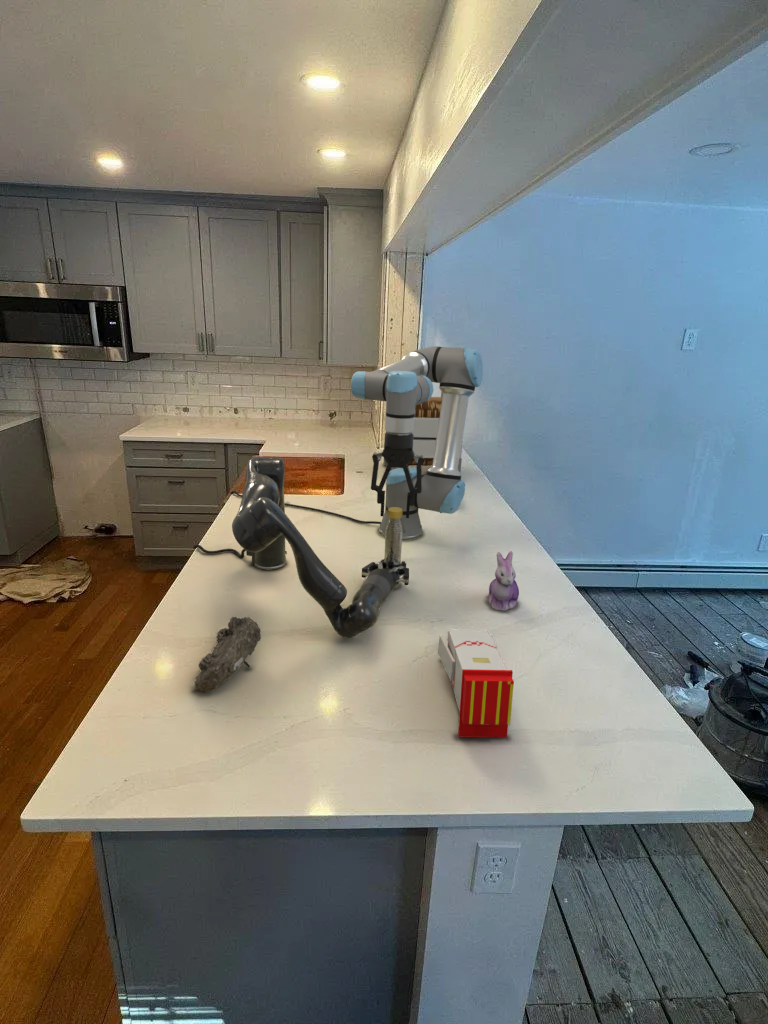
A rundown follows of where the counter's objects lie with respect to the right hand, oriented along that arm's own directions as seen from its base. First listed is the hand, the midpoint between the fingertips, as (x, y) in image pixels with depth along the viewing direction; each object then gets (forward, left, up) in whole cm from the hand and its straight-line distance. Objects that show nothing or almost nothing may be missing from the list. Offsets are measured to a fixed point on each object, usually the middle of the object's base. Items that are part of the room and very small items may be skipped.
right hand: (394, 515), depth 155 cm
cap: (0, 0, +1) cm, 1 cm away
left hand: (-1, +2, -15) cm, 16 cm away
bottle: (0, 0, -21) cm, 21 cm away
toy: (+46, -19, -21) cm, 54 cm away
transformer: (-81, +89, -21) cm, 122 cm away
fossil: (+8, -53, -21) cm, 58 cm away
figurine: (+26, +18, -21) cm, 38 cm away
